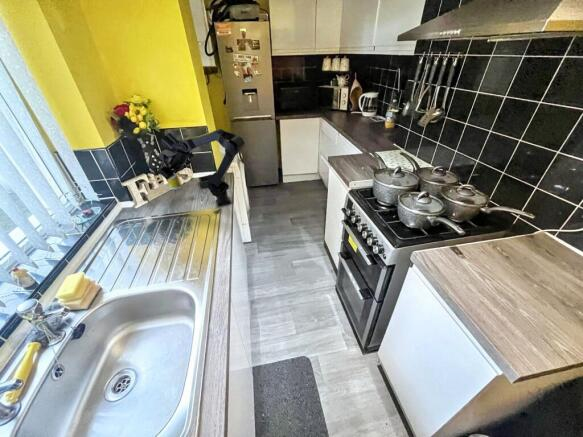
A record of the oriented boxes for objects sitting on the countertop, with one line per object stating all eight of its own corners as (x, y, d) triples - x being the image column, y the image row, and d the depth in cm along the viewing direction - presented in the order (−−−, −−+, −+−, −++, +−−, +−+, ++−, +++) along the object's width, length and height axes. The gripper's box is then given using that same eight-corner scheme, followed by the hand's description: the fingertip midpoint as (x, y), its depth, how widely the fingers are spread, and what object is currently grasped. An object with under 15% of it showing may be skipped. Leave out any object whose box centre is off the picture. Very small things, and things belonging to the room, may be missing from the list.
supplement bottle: (172, 190, 131) (166, 173, 125) (168, 187, 134) (162, 171, 128) (182, 186, 134) (176, 170, 128) (178, 183, 137) (172, 167, 131)
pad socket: (216, 184, 147) (214, 179, 145) (202, 188, 144) (201, 182, 142) (213, 179, 153) (212, 174, 150) (200, 182, 150) (198, 177, 148)
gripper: (178, 139, 126) (168, 158, 136) (153, 152, 112) (143, 172, 121) (196, 154, 129) (185, 172, 138) (173, 169, 114) (162, 188, 124)
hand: (169, 175), depth 130 cm, fingers closed on supplement bottle, 5 cm apart
